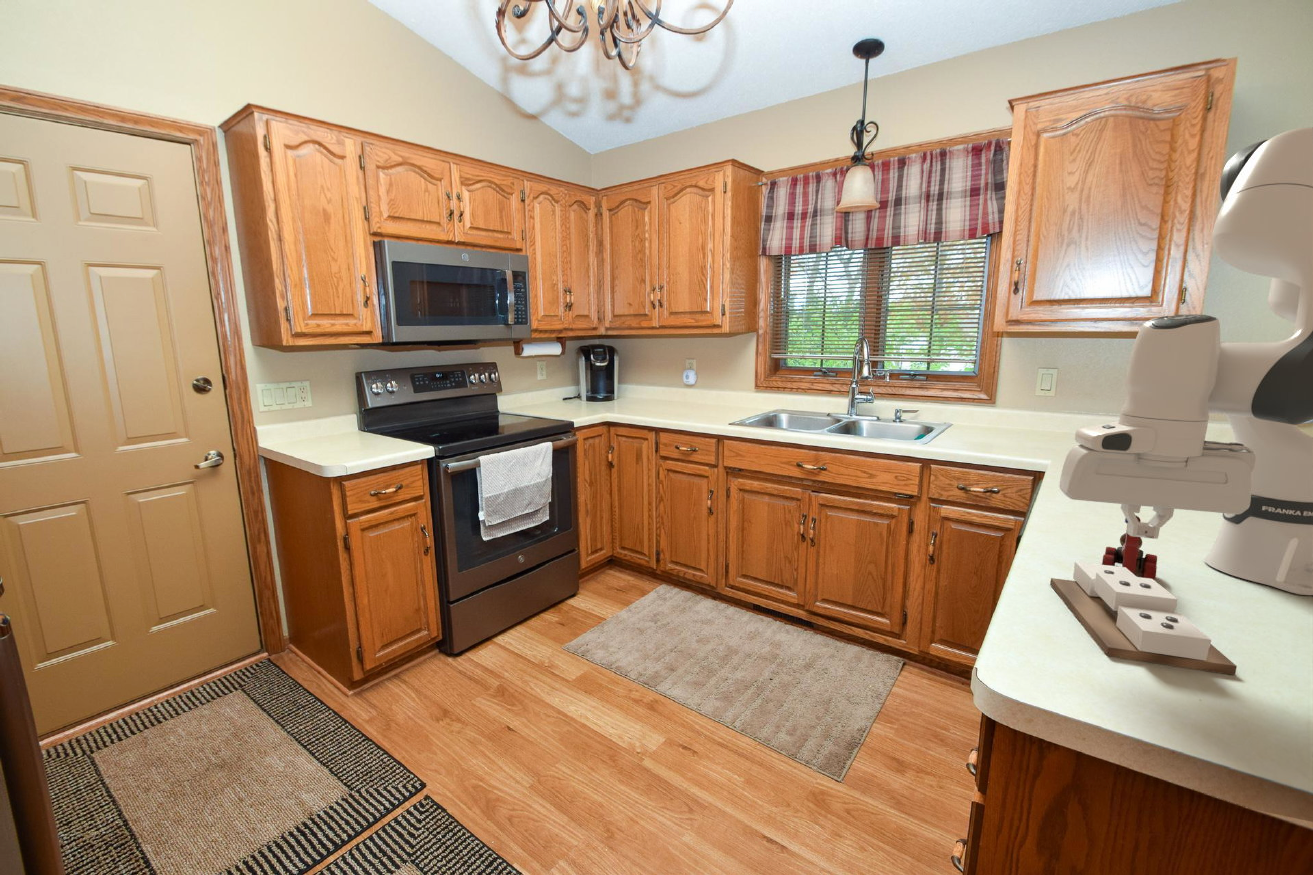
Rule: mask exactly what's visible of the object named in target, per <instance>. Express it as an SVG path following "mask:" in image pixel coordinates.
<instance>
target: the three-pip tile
mask: <svg viewBox="0 0 1313 875" xmlns="http://www.w3.org/2000/svg"><path fill="white" fill-rule="evenodd" d="M1116 626H1117V627H1118V628H1119V629H1120V630H1121V631H1122V632H1123V633H1124V634H1125V635H1126V637H1127V638H1128V639H1129V640H1130V641H1131V642H1132V643H1133V644H1134V645H1135V646H1136V647H1137V649H1138V650H1139V651H1145V652H1151V653H1158V654H1165V655H1172V656H1178V657H1185V658H1192V659H1199V660H1205V661H1206V660H1207V655H1208V650H1209V647H1210V644H1212V643H1211V642H1212V639H1211V638H1210V637H1208V636H1207V635H1206V634H1205V633H1204V632H1203V631H1201V630H1200V629H1199V628H1198V627H1197V626H1196V625H1194V624H1193V623H1192V622H1191V621H1190V620H1188V618H1186V617H1185V616H1184V615H1183V614H1181V613H1177V612H1175V613H1170V612H1162V611H1154V610H1147V609H1139V608H1131V607H1123V606H1119V607H1118V617H1117V623H1116Z"/></svg>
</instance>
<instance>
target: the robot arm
mask: <svg viewBox="0 0 1313 875" xmlns="http://www.w3.org/2000/svg"><path fill="white" fill-rule="evenodd" d="M1219 188H1220V189H1219V191H1220V197H1221V201H1222V205H1221V208H1220V210H1219V212H1218V214H1217V216H1216V219H1215V222H1214V225H1213V229H1212V233H1211V234H1212V235H1211V244H1212V247H1213V249H1214V251H1215V253H1216V254H1217V255H1218V256H1219V258H1221V259H1222V260H1223V261H1224V262H1225V263H1227V264H1229V265H1230V266H1231V267H1234V268H1236V269H1238V270H1241V271H1243V272H1246V273H1249V274H1253V275H1258V276H1263V277H1269V278H1271V282H1270V287H1269V293H1268V298H1267V303H1268V306H1269V309H1270V310H1271V311H1272V313H1274V314H1275V315H1277V316H1278V317H1280V318H1282V319H1284V320H1287V321H1289V322H1292V323H1294V325H1295V326H1294V331H1293V335H1292V336H1290V337H1288V338H1287V339H1284V340H1281V341H1277V342H1276V341H1275V342H1234V341H1233V342H1231V341H1229V342H1228V341H1227V342H1226V341H1221V324H1220V320H1219V318H1217V317H1215V316H1212V315H1207V314H1175V315H1164V316H1158V317H1154V318H1152V319H1149V320H1148V321H1145V322H1144V323H1143V324H1141V326H1140V328H1139V331H1138V333H1137V335H1136V338H1135V340H1134V343H1133V346H1132V349H1131V353H1130V357H1129V361H1128V365H1127V371H1126V376H1125V377H1126V378H1125V387H1126V399H1125V402H1124V404H1123V406H1122V408H1121V410H1120V414H1119V419H1118V420H1115V421H1111V422H1105V423H1101V424H1095V425H1092V426H1091V425H1090V426H1085V427H1080V428H1078V429H1077V430H1076V431H1075V433H1074V434H1075V435H1074V440H1075V442H1076V443H1077V444H1078V445H1076V446H1074V447H1072V448H1071V449H1070V450H1069V451H1068V453H1067V454H1066V457H1065V460H1064V463H1063V465H1062V471H1061V474H1060V479H1059V486H1058V487H1059V490H1060V492H1062V494H1064V495H1065V497H1067V498H1069V499H1070V500H1073V501H1081V502H1082V501H1084V502H1085V501H1086V502H1094V503H1095V502H1096V503H1107V504H1118V505H1120V509H1121V512H1122V513H1123V515H1124V517H1125V518H1126V519H1127V521H1128V527H1127V526H1126V530H1127V533H1128V534H1129V535H1130V536H1133V537H1141V538H1145V539H1154V540H1157V539H1158V538H1159V536H1160V529H1161V528H1163V526H1164V525H1165V524H1167V522H1169V521H1170V520H1171V519H1172V518H1173V516H1174V512H1175V510H1184V511H1185V510H1186V511H1196V512H1205V513H1206V512H1207V513H1218V514H1222V518H1223V519H1222V522H1221V524H1220V527H1219V530H1218V533H1217V534H1216V537H1215V540H1214V542H1213V544H1212V545H1211V548H1210V549H1209V550H1208V552H1207V554H1206V555H1205V556H1204V558H1203V560H1204V562H1205V563H1206V564H1207V565H1209V566H1210V567H1212V568H1214V569H1216V570H1218V571H1221V572H1222V573H1225V574H1228V575H1231V576H1233V577H1237V578H1241V579H1244V580H1248V581H1251V582H1254V583H1259V584H1263V585H1267V586H1271V587H1273V588H1276V589H1279V590H1282V591H1285V592H1289V593H1291V594H1296V595H1302V596H1304V595H1305V596H1313V436H1311V435H1308V434H1306V433H1305V432H1303V431H1302V430H1301V429H1300V428H1299V427H1298V426H1297V425H1301V424H1303V423H1307V422H1310V421H1312V420H1313V127H1311V126H1309V127H1299V128H1294V129H1291V130H1287V131H1284V132H1281V133H1279V134H1276V135H1274V136H1272V137H1271V138H1269V139H1264V140H1261V141H1258V142H1255V143H1252V144H1250V145H1247V146H1246V147H1244V148H1241V149H1239V151H1237V152H1236V153H1235V154H1234V155H1233V156H1232V157H1231V158H1230V159H1229V160H1227V163H1225V165H1224V168H1223V170H1222V172H1221V176H1220V184H1219ZM1210 414H1217V415H1224V417H1225V418H1226V420H1227V421H1228V423H1229V425H1230V428H1231V429H1232V432H1233V436H1234V439H1235V440H1234V441H1235V442H1221V441H1214V440H1205V439H1206V435H1207V430H1208V425H1209V418H1210ZM1142 507H1151V508H1152V511H1153V512H1155V514H1154V515H1153V516H1152V517H1151V519H1149V521H1148V522H1144V521H1143V522H1142V521H1141V522H1138V520H1137V518H1136V516H1137V515H1136V514H1140V512H1141V508H1142ZM1135 515H1136V516H1135Z"/></svg>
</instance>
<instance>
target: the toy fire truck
mask: <svg viewBox="0 0 1313 875" xmlns="http://www.w3.org/2000/svg"><path fill="white" fill-rule="evenodd" d="M1135 516H1136V518H1137V520H1138V522H1142V521H1141V520H1142V519H1141V518H1140V517H1139V516H1138V515H1136V514H1135ZM1124 523H1125V524H1126V528H1127V527H1128V521H1127V519H1126V517H1125V519H1124ZM1119 538H1120V539H1119V544H1120V545H1121V546H1119V547H1117V548H1116V547H1113V546H1106V547H1105V552H1104V554H1103V556H1102V562H1101V565H1109V566H1116V564H1120V565H1121V567H1126V568H1127V569H1128V570H1129V571H1130V572H1132V573H1133V574H1134V575H1135V576H1136V577H1141V578H1150V579H1153V580H1154V581H1156V576H1157V568H1158V567H1157V565H1158V556H1157V554H1151V553H1146V554H1144V551H1143V550H1142V549H1140V548H1141V547H1142V546H1143V539H1142V537H1133V536H1130V535H1129V534H1128V533H1127V529H1126V532H1125V533H1124V534H1122V535H1121V536H1120V537H1119ZM1144 555H1145V556H1144ZM1117 566H1118V565H1117ZM1118 567H1120V566H1118Z"/></svg>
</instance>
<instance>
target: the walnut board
mask: <svg viewBox="0 0 1313 875" xmlns="http://www.w3.org/2000/svg"><path fill="white" fill-rule="evenodd" d="M1049 586H1051V589H1053V591H1054V592H1055V593H1056V594H1057V596H1058V597H1059V598H1060V600H1061V601H1062V602H1063V603H1064V604H1065V606H1066V607H1067V609H1069V610H1070V612H1071V613H1072V614H1073V616H1074V617H1075V618H1076V619H1077V621H1078V622H1079V623H1080V624H1081V626H1082V627H1083V628H1084V629H1085V631H1086V632H1087V633H1088V635H1089V636H1090V637H1091V638H1092V639H1093V640H1094V642H1095V643H1096V644H1097V645H1098V647H1099V648H1100V649H1101V650H1102V652H1103V653H1104V655H1106V657H1107V656H1108V657H1113V658H1120V659H1126V660H1133V661H1140V662H1146V663H1153V664H1159V665H1166V666H1172V667H1179V668H1186V669H1193V670H1200V671H1206V672H1213V673H1219V674H1223V675H1224V674H1225V675H1231V676H1235V675H1236V672H1237V667H1238V666H1237V665H1236V664H1235V663H1234V662H1232V660H1231V659H1229V658H1228V657H1227V656H1226V655H1225V654H1223V653H1222V652H1221V651H1220V650H1218V648H1216V647H1215V646H1214V645H1213V644H1212V643H1211V644H1210V647H1209V650H1208V655H1207V660H1206V661H1205V660H1199V659H1192V658H1185V657H1178V656H1172V655H1165V654H1158V653H1151V652H1145V651H1139V650H1138V649H1137V647H1136V646H1135V645H1134V644H1133V643H1132V642H1131V641H1130V640H1129V639H1128V638H1127V637H1126V635H1125V634H1124V633H1123V632H1122V631H1121V630H1120V629H1119V628H1118V627H1117V626H1116V623H1117V617H1118V611H1113V609H1112V608H1111V607H1110V606H1109V605H1108V604H1107V603H1106V602H1105V601H1104V600H1103V599H1102V598H1101V597H1094V596H1089V595H1088V594H1087V593H1086V592H1085V591H1084V590H1083V588H1082V587H1081V586H1080V585H1079V584H1078V583H1077V582H1076V581H1075V580H1073V579H1072V580H1069V579H1062V578H1055V577H1050V583H1049Z"/></svg>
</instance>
